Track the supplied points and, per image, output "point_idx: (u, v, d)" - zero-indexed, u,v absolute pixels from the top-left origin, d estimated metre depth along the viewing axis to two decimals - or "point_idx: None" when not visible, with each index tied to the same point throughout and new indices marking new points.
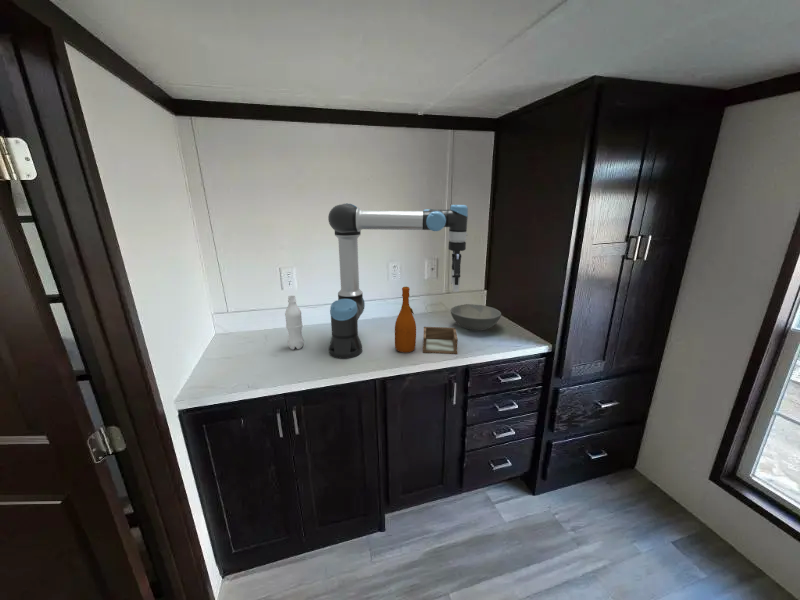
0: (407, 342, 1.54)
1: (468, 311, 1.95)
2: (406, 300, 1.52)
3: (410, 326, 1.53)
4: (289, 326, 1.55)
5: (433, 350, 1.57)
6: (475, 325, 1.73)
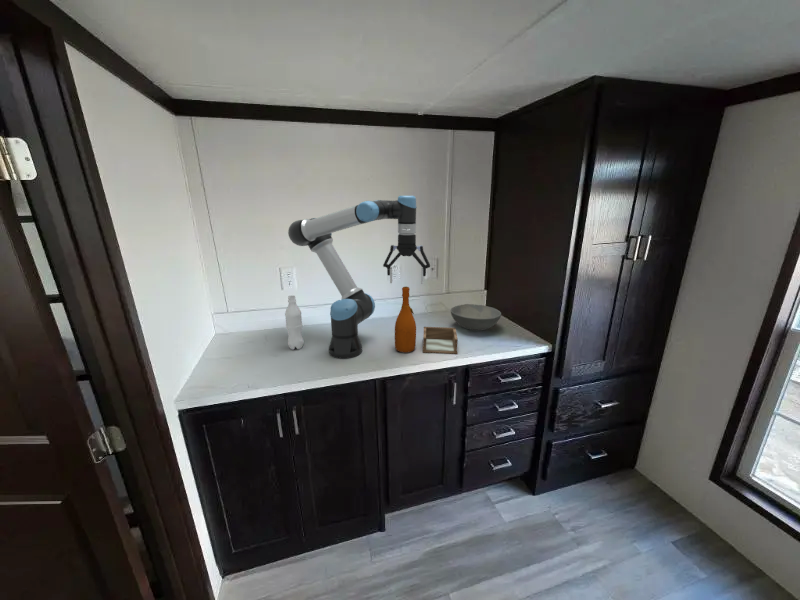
0: (407, 342, 1.54)
1: (468, 311, 1.95)
2: (406, 300, 1.52)
3: (410, 326, 1.53)
4: (289, 326, 1.55)
5: (433, 350, 1.57)
6: (475, 325, 1.73)
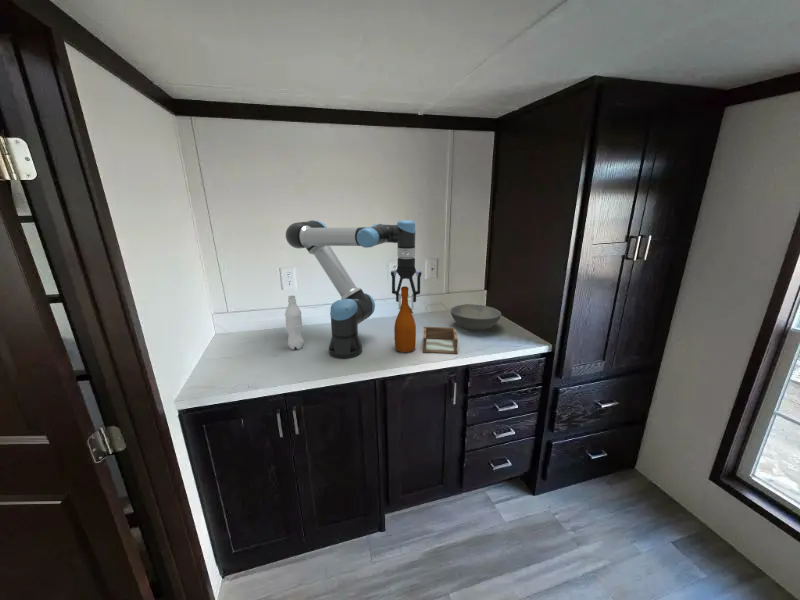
0: (407, 342, 1.54)
1: (468, 311, 1.95)
2: (405, 300, 1.52)
3: (409, 326, 1.53)
4: (289, 326, 1.55)
5: (433, 350, 1.57)
6: (475, 325, 1.73)
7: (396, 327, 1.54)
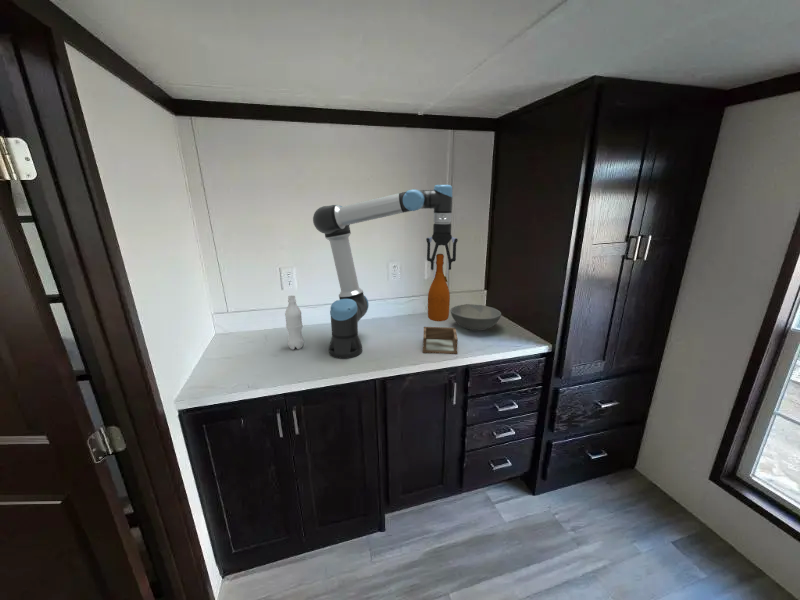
0: (441, 311, 1.52)
1: (468, 311, 1.95)
2: (440, 267, 1.50)
3: (444, 294, 1.51)
4: (289, 326, 1.55)
5: (433, 350, 1.57)
6: (475, 325, 1.73)
7: (430, 295, 1.52)
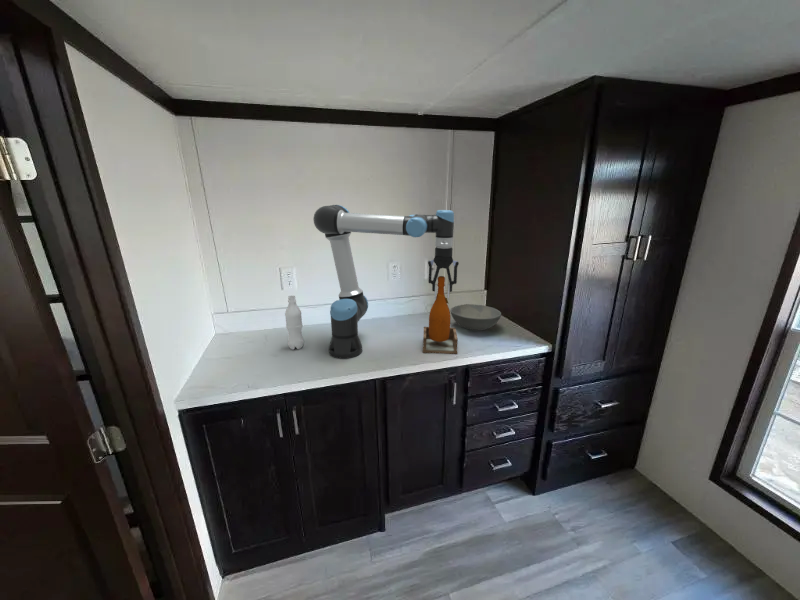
0: (442, 331, 1.55)
1: (468, 311, 1.95)
2: (442, 289, 1.53)
3: (445, 315, 1.54)
4: (289, 326, 1.55)
5: (433, 350, 1.57)
6: (475, 325, 1.73)
7: (432, 316, 1.56)
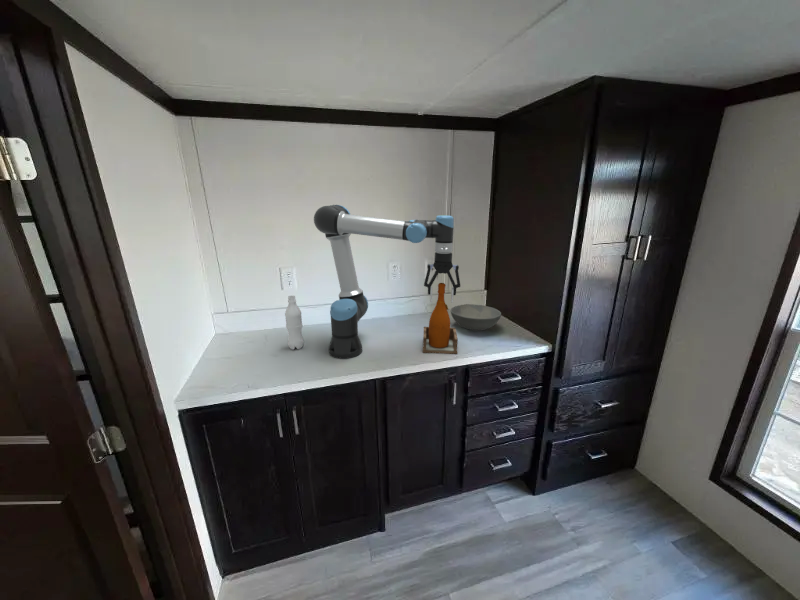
0: (441, 338, 1.56)
1: (468, 311, 1.95)
2: (442, 296, 1.54)
3: (445, 322, 1.55)
4: (289, 326, 1.55)
5: (433, 350, 1.57)
6: (475, 325, 1.73)
7: (431, 323, 1.57)
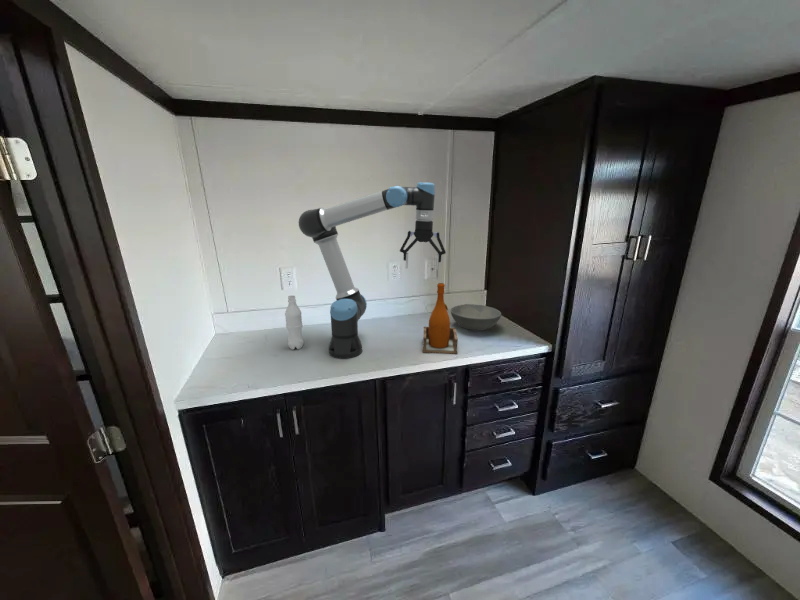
0: (441, 338, 1.56)
1: (468, 311, 1.95)
2: (441, 296, 1.54)
3: (445, 322, 1.55)
4: (289, 326, 1.55)
5: (433, 350, 1.57)
6: (475, 325, 1.73)
7: (431, 323, 1.57)
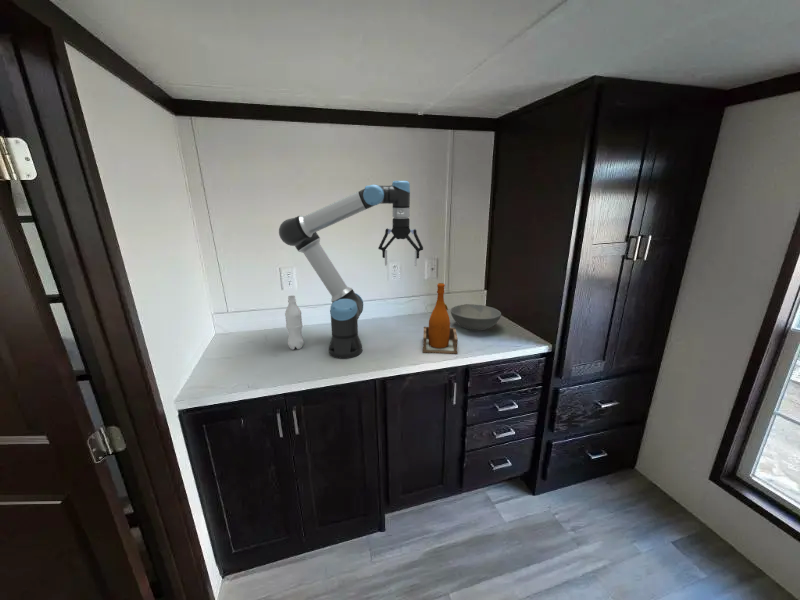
0: (441, 338, 1.56)
1: (468, 311, 1.95)
2: (441, 296, 1.54)
3: (445, 322, 1.55)
4: (289, 326, 1.55)
5: (433, 350, 1.57)
6: (475, 325, 1.73)
7: (431, 323, 1.57)
